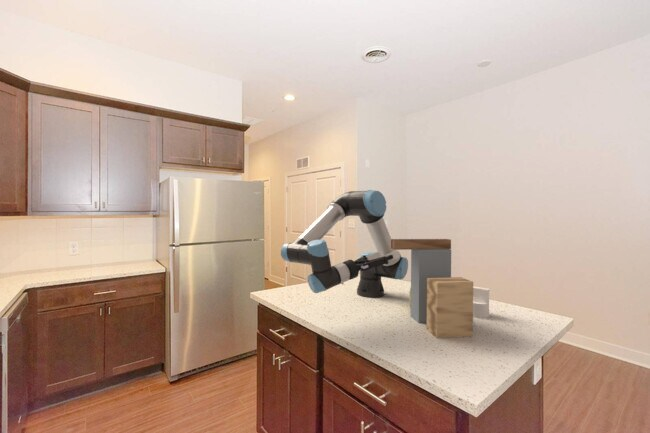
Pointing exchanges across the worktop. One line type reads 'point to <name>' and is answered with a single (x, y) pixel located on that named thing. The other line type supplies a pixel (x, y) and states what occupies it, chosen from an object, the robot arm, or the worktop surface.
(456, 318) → the oak block
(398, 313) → the worktop surface
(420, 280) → the slate-grey stand
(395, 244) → the walnut block
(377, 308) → the worktop surface
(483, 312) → the cylinder with rectangular tab
